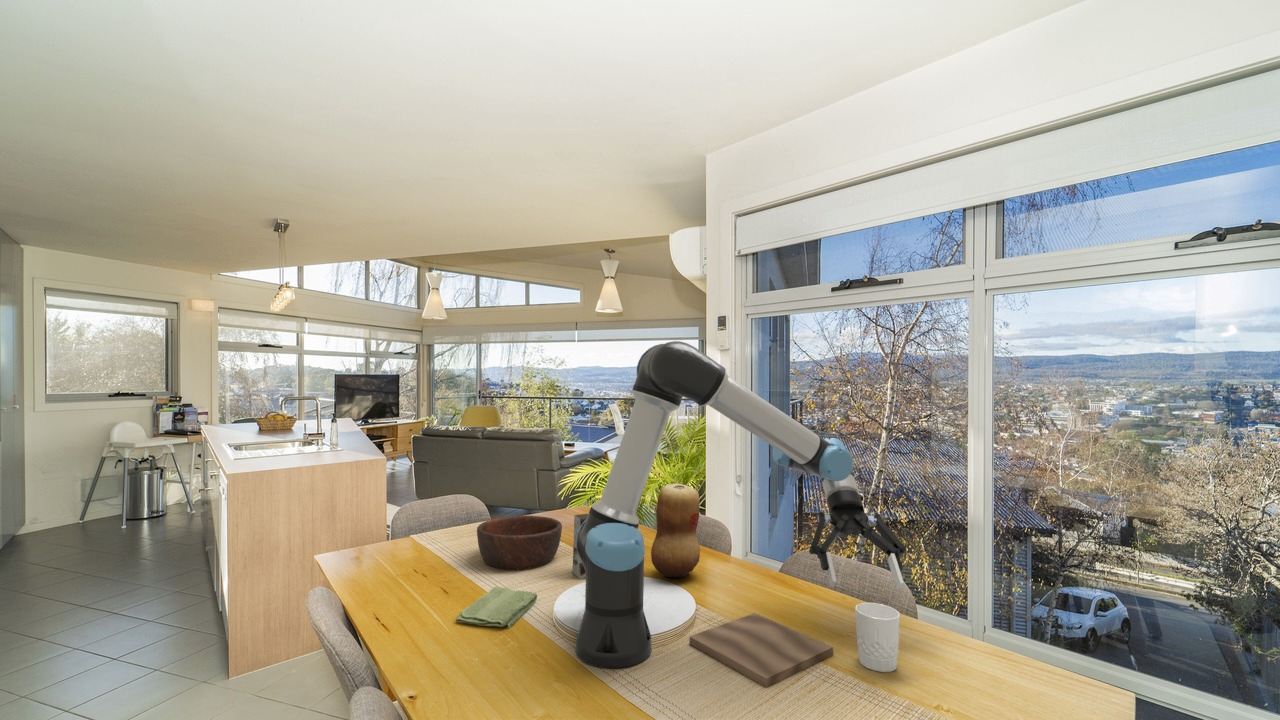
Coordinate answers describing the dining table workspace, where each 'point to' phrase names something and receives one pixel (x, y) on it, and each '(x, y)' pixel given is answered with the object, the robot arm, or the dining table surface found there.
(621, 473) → the robot arm
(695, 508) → the butternut squash
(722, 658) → the walnut board
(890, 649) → the white cup
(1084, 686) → the dining table surface
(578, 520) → the coffee box
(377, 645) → the dining table surface
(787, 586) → the dining table surface
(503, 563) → the wooden bowl
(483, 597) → the washcloth
